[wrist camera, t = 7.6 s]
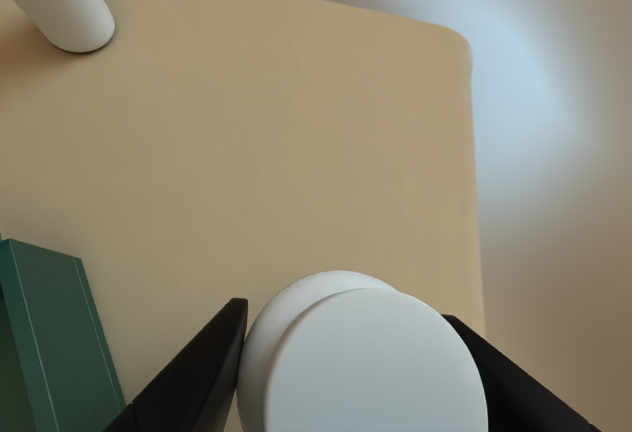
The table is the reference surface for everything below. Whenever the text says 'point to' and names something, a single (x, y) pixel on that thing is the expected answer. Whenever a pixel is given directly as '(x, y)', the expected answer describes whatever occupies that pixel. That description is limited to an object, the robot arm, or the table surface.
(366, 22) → the table surface
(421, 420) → the pill bottle
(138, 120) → the table surface
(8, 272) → the green open box
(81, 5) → the white tumbler
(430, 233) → the table surface
